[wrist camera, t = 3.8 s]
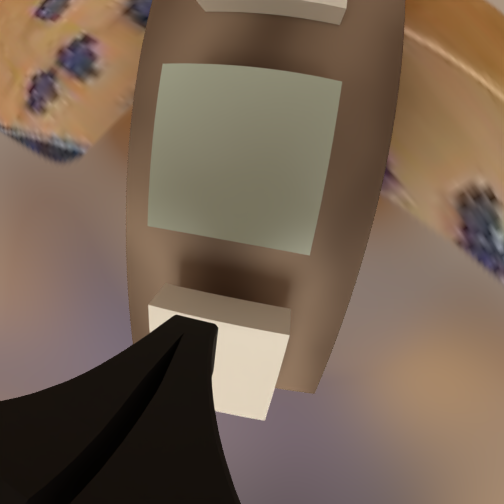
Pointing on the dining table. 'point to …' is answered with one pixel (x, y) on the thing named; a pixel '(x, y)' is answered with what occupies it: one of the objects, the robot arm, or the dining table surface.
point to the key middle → (241, 153)
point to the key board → (337, 180)
